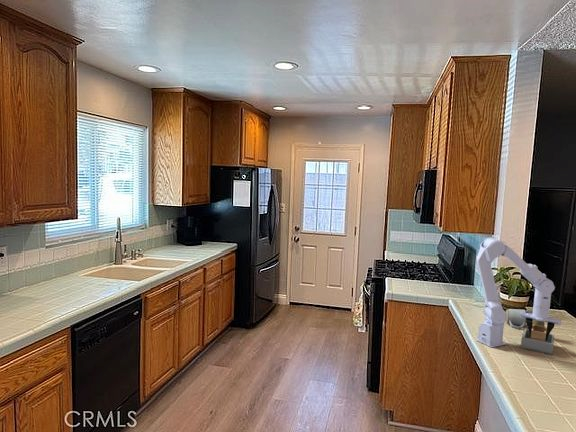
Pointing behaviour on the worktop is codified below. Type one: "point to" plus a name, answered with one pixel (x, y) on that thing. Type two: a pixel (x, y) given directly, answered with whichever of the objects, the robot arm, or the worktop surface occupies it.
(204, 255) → the worktop surface
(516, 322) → the ceramic mug
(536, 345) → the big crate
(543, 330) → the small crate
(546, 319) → the robot arm
